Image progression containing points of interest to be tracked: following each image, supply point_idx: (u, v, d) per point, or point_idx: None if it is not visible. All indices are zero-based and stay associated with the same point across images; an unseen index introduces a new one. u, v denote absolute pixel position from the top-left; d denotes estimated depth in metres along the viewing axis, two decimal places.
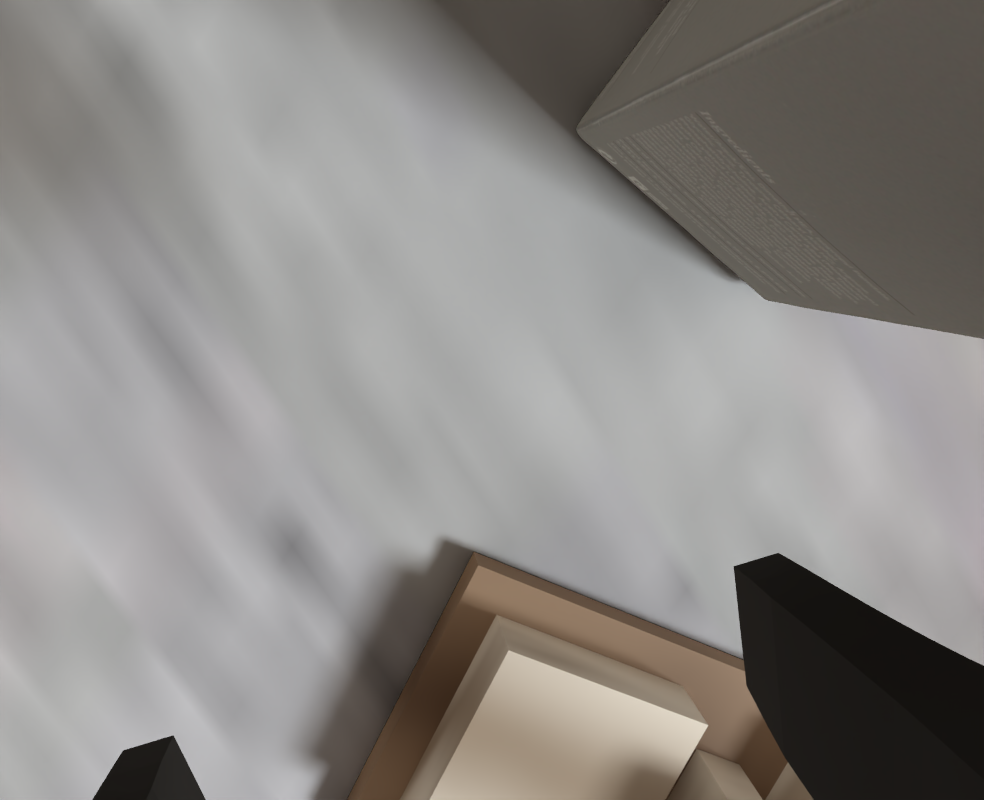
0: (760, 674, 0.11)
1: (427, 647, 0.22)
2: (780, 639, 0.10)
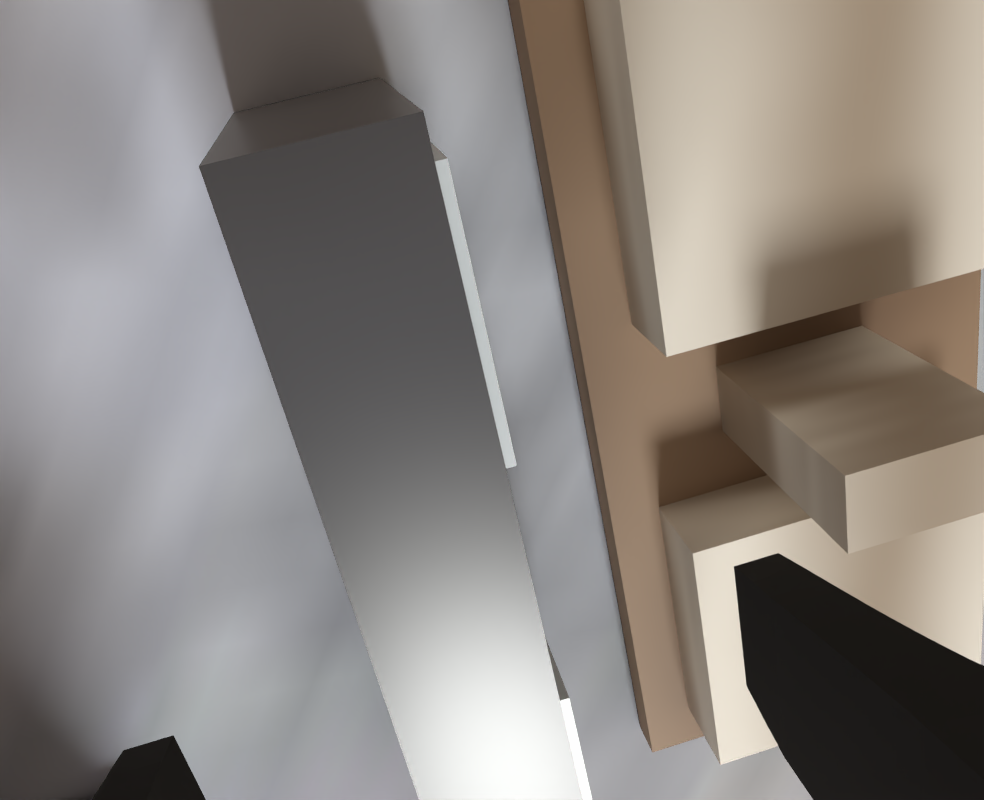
0: (760, 674, 0.11)
1: None
2: (780, 639, 0.10)
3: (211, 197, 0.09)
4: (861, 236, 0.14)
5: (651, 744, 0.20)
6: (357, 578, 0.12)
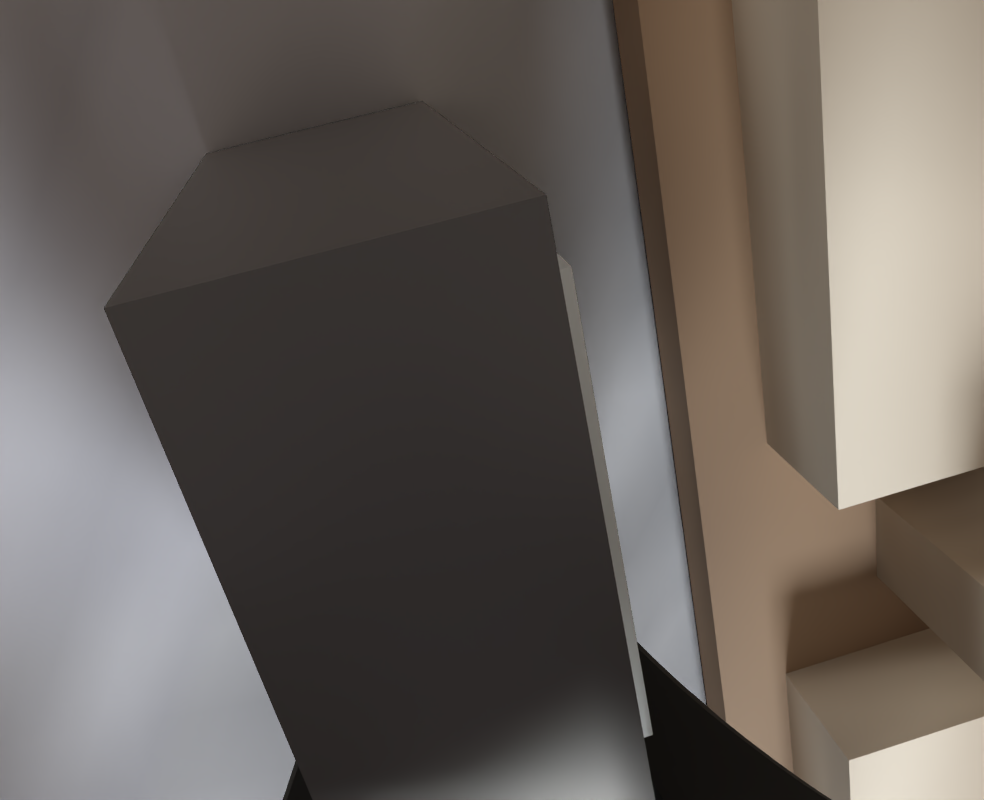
0: None
1: None
2: None
3: (131, 365, 0.05)
4: None
5: None
6: None
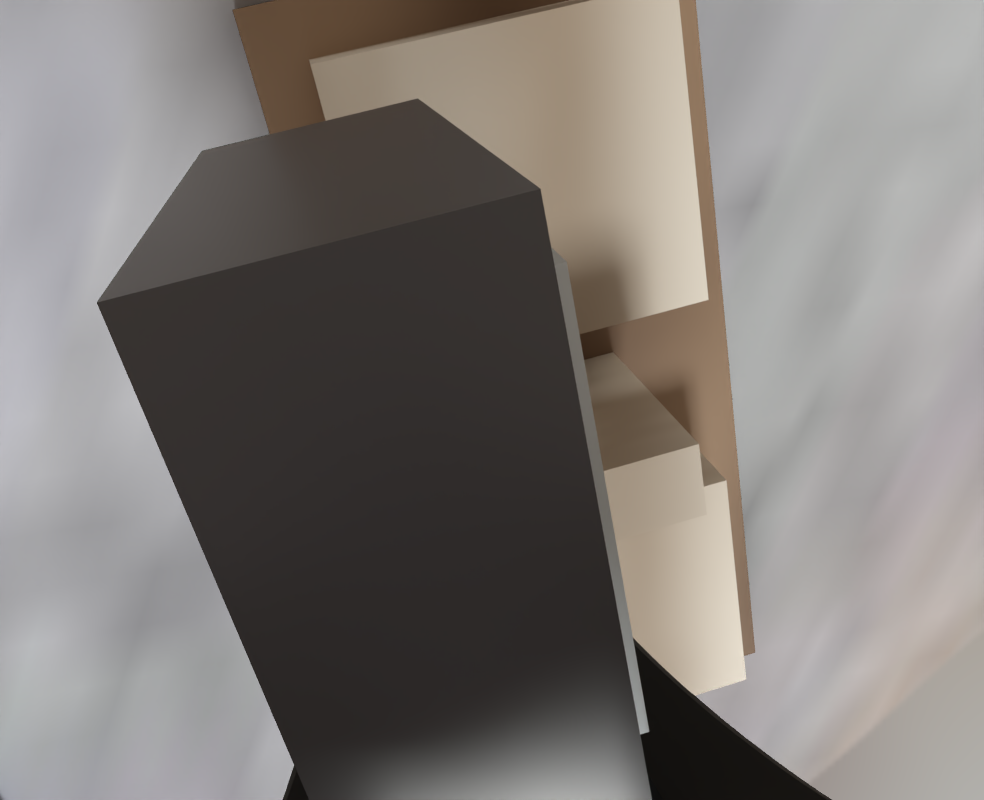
0: None
1: None
2: None
3: (124, 360, 0.05)
4: (571, 275, 0.16)
5: None
6: None
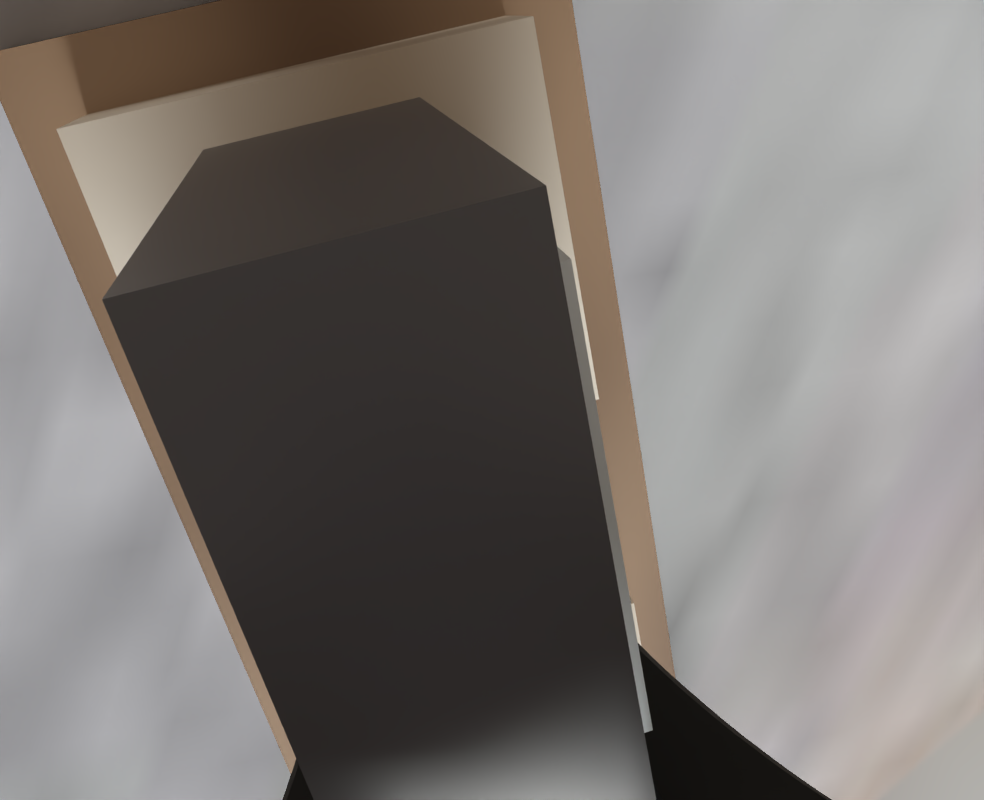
0: None
1: None
2: None
3: (130, 357, 0.05)
4: None
5: None
6: None
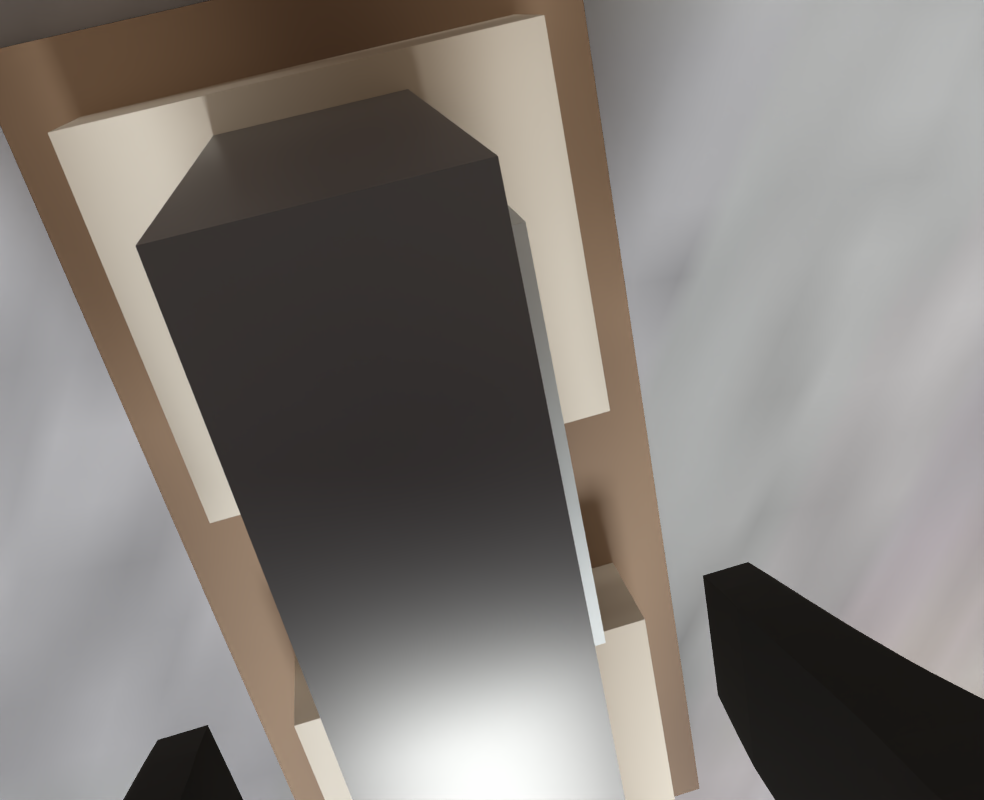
0: (730, 683, 0.11)
1: None
2: (746, 649, 0.10)
3: (157, 294, 0.06)
4: None
5: None
6: None
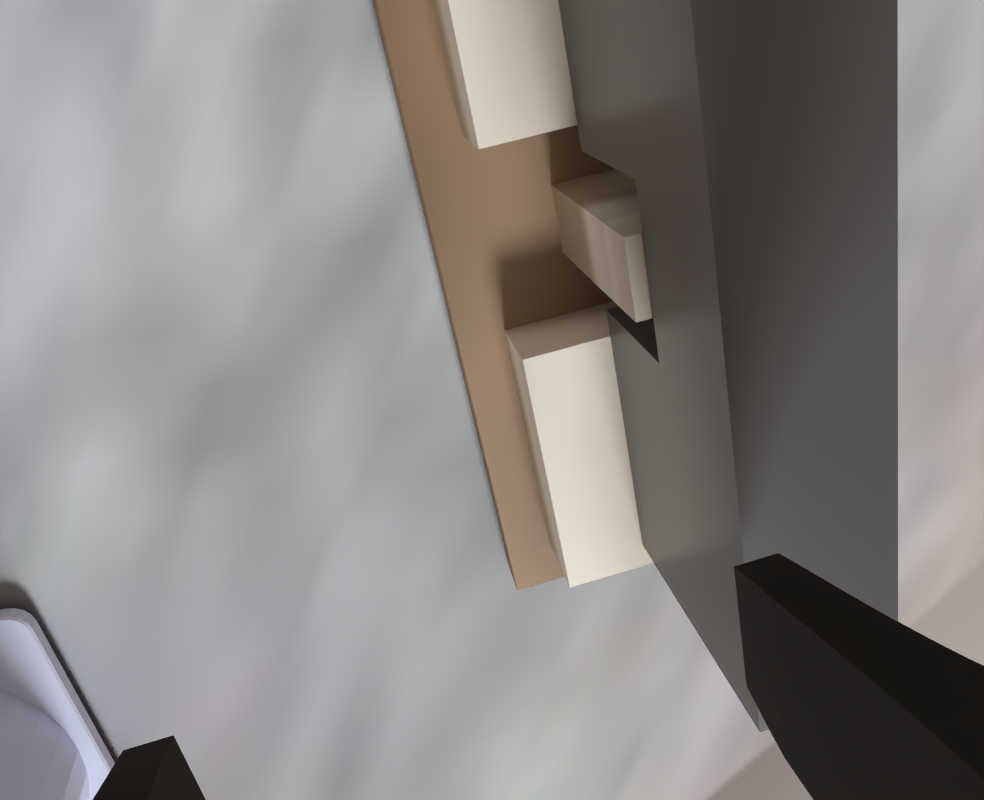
0: (760, 674, 0.11)
1: None
2: (780, 639, 0.10)
3: None
4: None
5: (515, 581, 0.21)
6: (725, 210, 0.11)
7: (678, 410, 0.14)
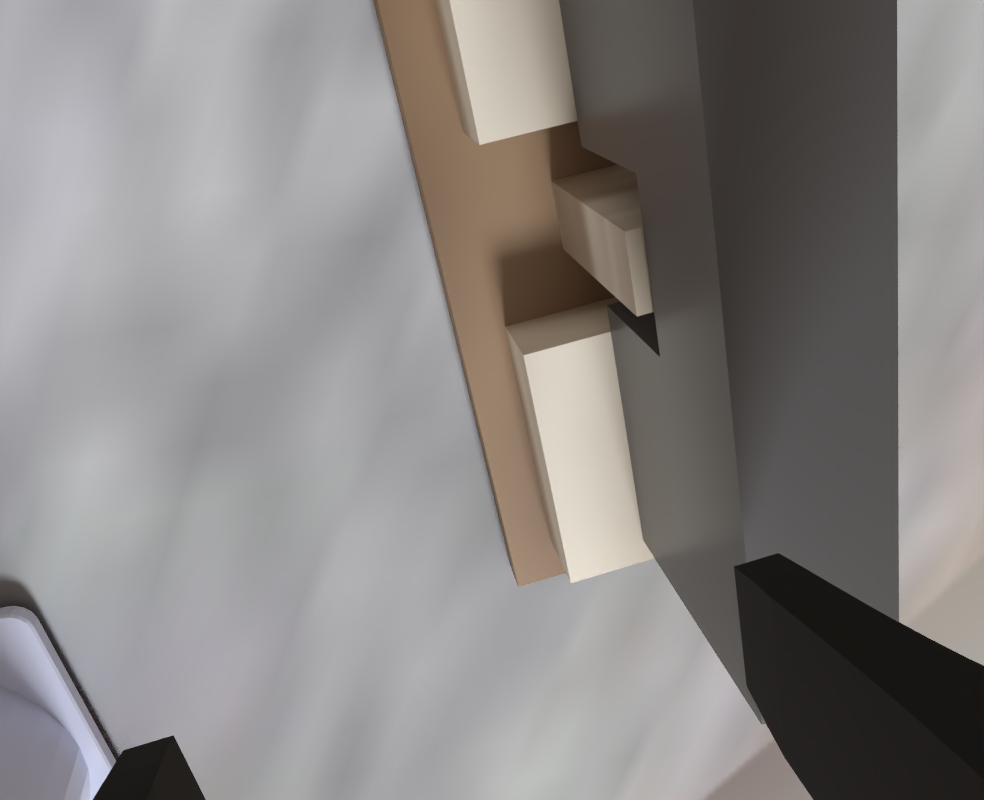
0: (760, 674, 0.11)
1: None
2: (780, 639, 0.10)
3: None
4: None
5: (516, 578, 0.21)
6: (726, 202, 0.11)
7: (679, 403, 0.14)
